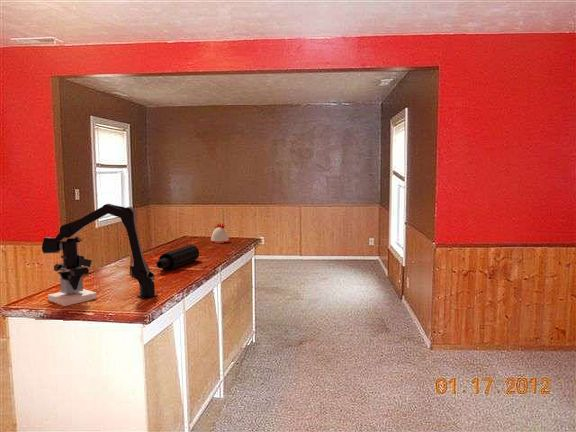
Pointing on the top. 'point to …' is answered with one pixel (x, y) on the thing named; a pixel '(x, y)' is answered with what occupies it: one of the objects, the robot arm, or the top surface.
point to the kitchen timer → (219, 234)
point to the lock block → (70, 286)
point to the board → (72, 297)
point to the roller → (178, 257)
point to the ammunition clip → (131, 263)
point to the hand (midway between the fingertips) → (72, 288)
